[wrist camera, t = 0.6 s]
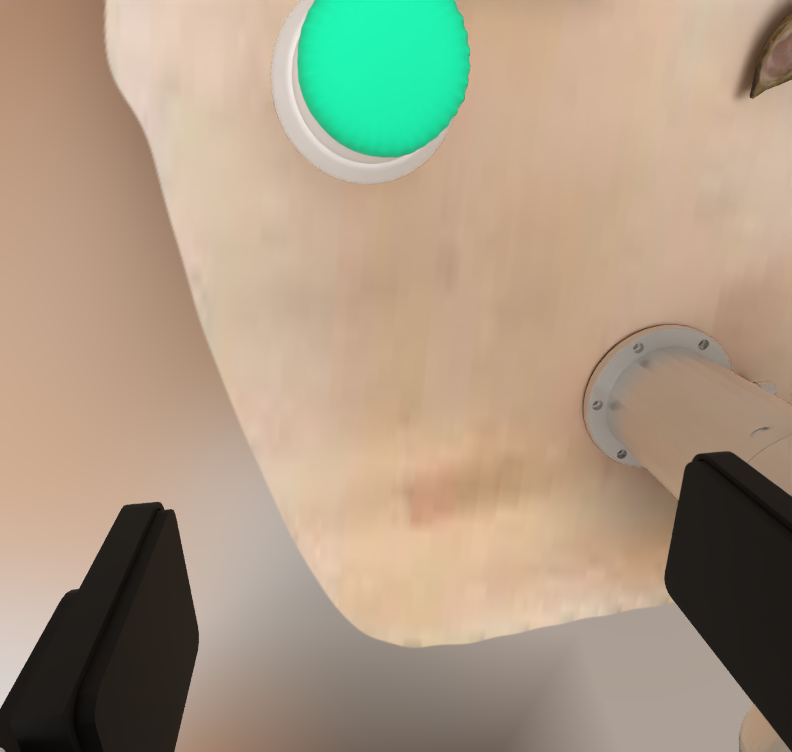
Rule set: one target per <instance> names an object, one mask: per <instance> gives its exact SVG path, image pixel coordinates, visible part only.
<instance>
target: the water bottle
mask: <svg viewBox="0 0 792 752" xmlns="http://www.w3.org/2000/svg"><path fill="white" fill-rule="evenodd" d="M467 39H468V33H467V31H466V30H465V28H464V21H463V16H462V15H461V14H460V13H459V11H458V9H457V6H456V2H455V1H454V0H301V1H300V2H299V3H298V4H297V5H296V6H295V7H294V9H293V10H292V11H291V13H290V14H289V16H288V17H287V19H286V21H285V22H284V24H283V26H282V28H281V31H280V33H279V35H278V38H277V41H276V44H275V48H274V52H273V58H272V66H271V87H272V95H273V100H274V105H275V108H276V112H277V115H278V118H279V120H280V123H281V125H282V127H283V129H284V131H285V133H286V135H287V136H288V138H289V139H290V141H291V142H292V144H293V145H294V147H295V148H296V149H297V150H298V151H299V153H300V154H301V155H302V156H303V157H304V158H305V159H306V160H307V161H309V162H310V163H311V164H312V165H314V166H315V167H316V168H318V169H319V170H321V171H322V172H324V173H326V174H328V175H330V176H332V177H334V178H337V179H339V180H343V181H346V182H350V183H356V184H379V183H385V182H389V181H393V180H396V179H398V178H401V177H403V176H405V175H407V174H409V173H411V172H412V171H414V170H415V169H417V168H418V167H420V166H421V165H422V164H423V163H424V162H425V161H427V160H428V159H429V158H430V157H431V156H432V155H433V153H434V152H435V151H436V150H437V148H438V147H439V146H440V144H441V143H442V141H443V140H444V138H445V136H446V134H447V132H448V130H449V128H450V126H451V124H452V121H453V118H454V116H455V115H456V114H457V112H458V108H459V106H460V105H461V104H462V102H463V101H464V98H465V90H466V88H467V86H468V73H469V71H470V62H469V56H470V48H469V45H468V43H467Z"/></svg>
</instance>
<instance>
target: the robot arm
mask: <svg viewBox="0 0 792 752" xmlns="http://www.w3.org/2000/svg"><path fill="white" fill-rule="evenodd" d="M634 345H635V346H634ZM775 394H776V387H775V385H774V384H773V383H772V382H769V381H767V382H754V383H752V382H750V381H748V380H746V379H745V378H743V377H741V376H739V375H737V374H736V373H734V372H732V367H731V364H730V361H729V358H728V356H727V354H726V353H725V351H724V350H723V348H722V347H721V346H720V345H719V344H718V343H717V342H716V341H715V340H714V339H713V338H711V337H710V336H708V335H706V334H704V333H702V332H701V331H698V330H696V329H693V328H690V327H687V326H681V325H660V326H656V327H652V328H648V329H645V330H643V331H640V332H638V333H635V334H633V335H631V336H630V337H628V338H627V339H625V340H624V341H622V342H620V343H619V344H618V345H617V346H616V347H614V348H613V349H612V350H611V351H610V352H609V353H608V354H607V355H606V356H605V357H604V359H603V360H602V361H601V362H600V364H599V365H598V366H597V368H596V370H595V371H594V373H593V375H592V377H591V378H590V381H589V384H588V387H587V389H586V393H585V399H584V404H583V407H584V420H585V424H586V428H587V431H588V433H589V435H590V437H591V438H592V440H593V441H594V442H595V444H596V445H597V446H598V447H599V448H600V449H601V450H602V451H603V452H604V453H605V454H606V455H607V456H608V457H610V458H611V459H613V460H615V461H617V462H619V463H622V464H625V465H628V466H635V467H645V468H646V469H647V470H648V471H649V472H650V473H651V474H652V475H653V476H654V477H655V478H656V479H657V480H658V481H659V482H660V483H661V484H662V485H663V486H664V487H665V488H666V489H667V490H669V491H670V492H671V493H672V494H673V495H674V496H675V497H676V498H677V499H678V500H679V501H678V506H677V512H676V517H675V522H674V528H673V533H672V538H671V544H670V549H669V554H668V559H667V565H666V570H665V578H664V579H665V585H666V589H667V591H668V593H669V595H670V596H671V598H672V599H673V600H674V602H675V603H676V604H677V605H678V607H679V608H680V609H681V611H682V612H683V613H684V614H685V616H686V617H687V618H688V620H690V622H691V623H692V625H693V626H694V627H695V628H696V630H697V631H698V632H699V634H700V635H701V636H702V638H703V639H704V640H705V641H706V643H707V644H708V645H709V647H710V648H711V649H712V650H713V652H714V653H715V654H716V656H717V657H718V658H719V659H720V661H721V662H722V663H723V664H724V666H725V667H726V668H727V670H728V671H729V672H730V674H731V675H732V676H733V677H734V679H735V680H736V681H737V682H738V684H739V685H740V686H741V687H742V689H743V690H744V692H745V693H746V694H747V695H748V696H749V698H750V699H751V701H752V702H753V703H754V704H753V705H752V706H751V708H750V709H749V711H748V712H747V714H746V716H745V718H744V720H743V722H742V725H741V729H740V733H739V752H792V405H791V404H789V403H787V402H785V401H784V400H782V399H780V398H778V397H776V396H775ZM198 644H199V632H198V625H197V620H196V615H195V610H194V605H193V600H192V595H191V590H190V585H189V579H188V575H187V569H186V564H185V559H184V554H183V550H182V544H181V539H180V534H179V529H178V524H177V519H176V515H175V513H174V510H172V509H170V510H164V507H163V506H162V504H161V503H160V502H153V503H142V504H131V505H125V506H123V508H122V509H121V511H120V513H119V515H118V517H117V519H116V520H115V522H114V524H113V526H112V528H111V530H110V532H109V534H108V535H107V537H106V539H105V541H104V543H103V545H102V547H101V549H100V551H99V552H98V554H97V556H96V558H95V560H94V562H93V564H92V566H91V568H90V570H89V571H88V573H87V575H86V577H85V579H84V581H83V583H82V584H81V586H80V588H79V589H76V590H71V591H69V592H67V593H66V594H65V596H64V597H63V598H62V599H61V601H60V603H59V604H58V606H57V608H56V610H55V612H54V613H53V615H52V617H51V619H50V621H49V622H48V624H47V626H46V628H45V630H44V631H43V633H42V635H41V637H40V639H39V640H38V642H37V644H36V646H35V647H34V649H33V651H32V653H31V655H30V657H29V658H28V660H27V662H26V664H25V665H24V667H23V669H22V671H21V673H20V674H19V676H18V678H17V680H16V682H15V684H14V685H13V687H12V689H11V691H10V692H9V694H8V696H7V698H6V700H5V701H4V703H3V705H2V707H1V709H0V752H174V750H175V746H176V742H177V737H178V733H179V729H180V725H181V720H182V716H183V712H184V707H185V703H186V699H187V695H188V690H189V686H190V682H191V677H192V673H193V669H194V665H195V660H196V656H197V651H198Z"/></svg>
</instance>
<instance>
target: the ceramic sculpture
mask: <svg viewBox="0 0 792 752" xmlns="http://www.w3.org/2000/svg"><path fill="white" fill-rule="evenodd" d="M791 79H792V12H790V13H789V15H788V16H787V17H786V18H785V19H784V20H783V21H782V22H781V24H780V25H779V27H778V28H777V29H776V30H775V32H774V33H773V34H772V35H771V37H770V38H769V40H768V41H767V43H766V44H765V47H764V49H763V52H762V54H761V56H760V57H759V59H758V62H757V65H756V69H755V73H754V78H753V82H752V87H751V92H750V98H752V99H753V98H755V97H756V96H758V95H759V94H761V93H762V92H764V91H765V90H767V89H770V88H772V87H775V86H777V85H780V84H782V83H785V82H787V81H789V80H791Z"/></svg>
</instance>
